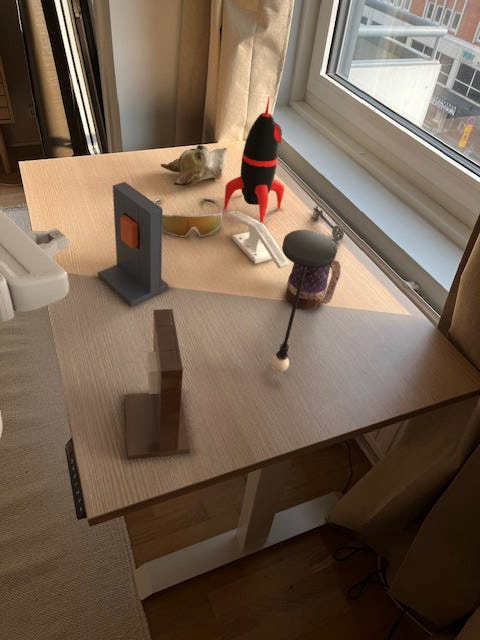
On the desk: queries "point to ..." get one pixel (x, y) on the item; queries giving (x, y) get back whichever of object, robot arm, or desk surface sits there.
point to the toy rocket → (259, 165)
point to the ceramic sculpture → (198, 165)
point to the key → (334, 232)
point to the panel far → (136, 248)
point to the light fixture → (303, 273)
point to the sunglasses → (191, 222)
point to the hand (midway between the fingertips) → (63, 237)
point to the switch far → (129, 231)
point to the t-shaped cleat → (257, 241)
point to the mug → (313, 285)
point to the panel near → (159, 399)
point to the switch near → (152, 372)
